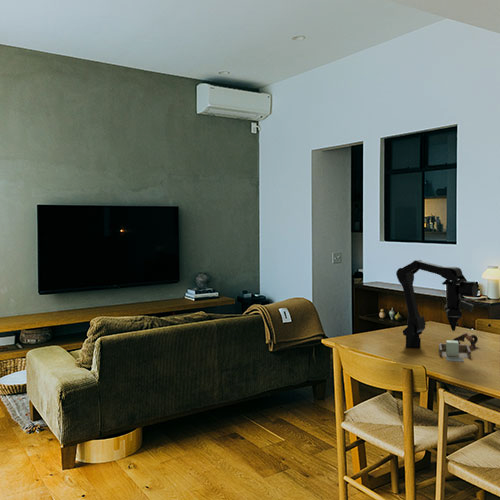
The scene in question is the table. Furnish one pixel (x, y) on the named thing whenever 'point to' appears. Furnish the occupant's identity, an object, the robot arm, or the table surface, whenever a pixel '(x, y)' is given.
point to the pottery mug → (469, 338)
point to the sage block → (452, 348)
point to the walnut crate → (463, 351)
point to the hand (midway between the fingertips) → (452, 328)
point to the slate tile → (454, 359)
